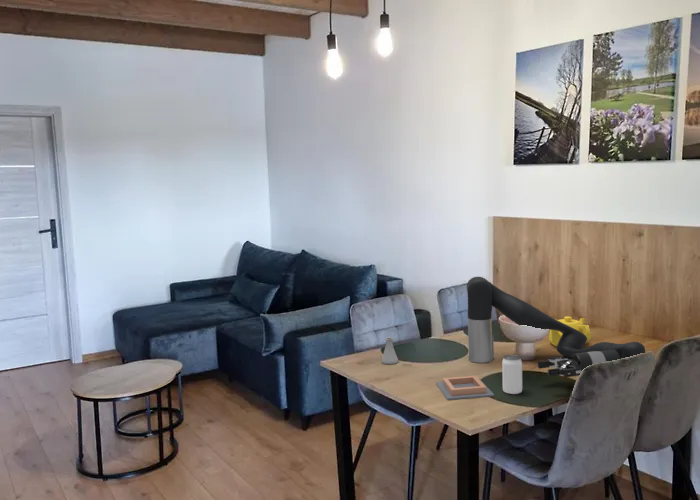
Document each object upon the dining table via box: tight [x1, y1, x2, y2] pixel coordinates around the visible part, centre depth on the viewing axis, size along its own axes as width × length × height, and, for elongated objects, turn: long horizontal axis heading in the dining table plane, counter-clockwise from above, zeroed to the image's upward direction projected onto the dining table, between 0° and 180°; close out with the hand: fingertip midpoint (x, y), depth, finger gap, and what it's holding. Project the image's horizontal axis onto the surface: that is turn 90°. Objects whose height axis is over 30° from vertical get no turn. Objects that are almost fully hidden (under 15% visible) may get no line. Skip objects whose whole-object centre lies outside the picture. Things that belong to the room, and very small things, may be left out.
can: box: [501, 354, 523, 395], centre depth 206 cm, size 6×6×12 cm
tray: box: [435, 375, 495, 401], centre depth 210 cm, size 16×16×3 cm
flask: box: [380, 336, 400, 365], centre depth 245 cm, size 7×7×10 cm
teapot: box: [548, 315, 593, 348], centre depth 257 cm, size 17×17×12 cm
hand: (543, 369), depth 206 cm, fingers open, 8 cm apart
